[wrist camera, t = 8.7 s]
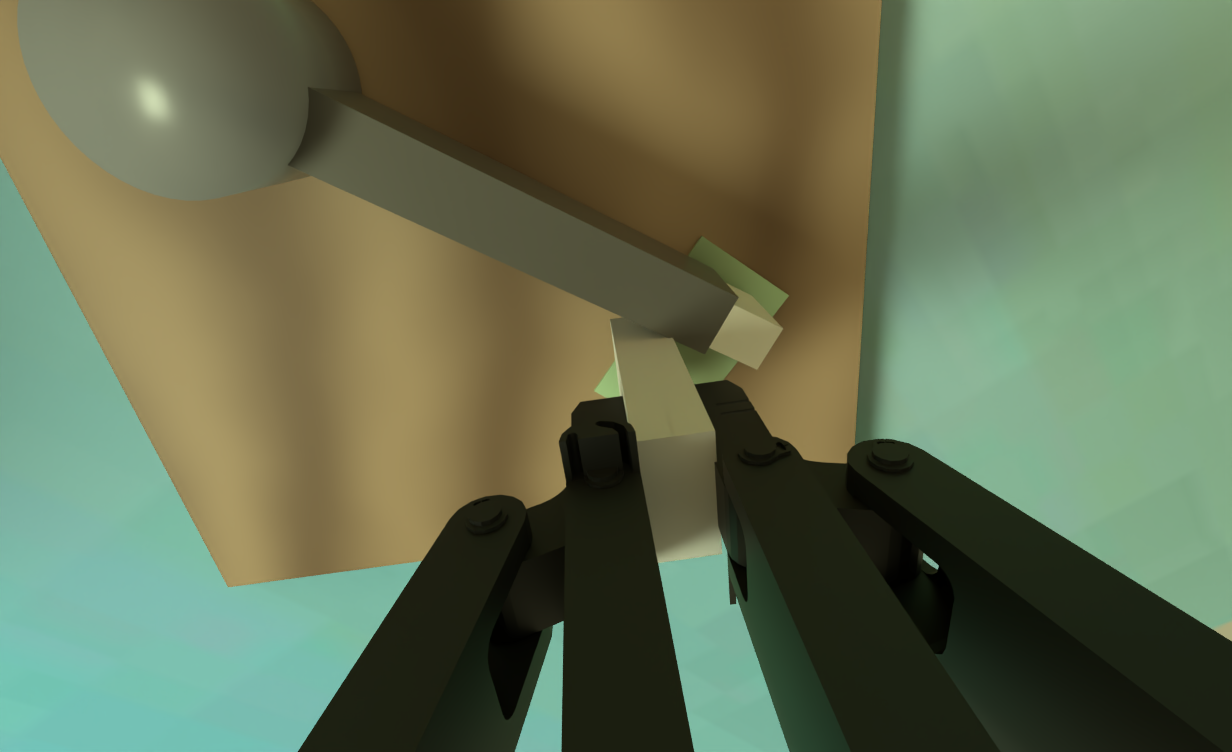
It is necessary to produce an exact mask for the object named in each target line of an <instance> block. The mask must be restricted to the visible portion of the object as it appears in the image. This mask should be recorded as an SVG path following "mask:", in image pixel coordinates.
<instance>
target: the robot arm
mask: <svg viewBox="0 0 1232 752" xmlns="http://www.w3.org/2000/svg"><path fill="white" fill-rule="evenodd" d="M610 324H611V331H612V339H613V347H614V354H615V362H616V369H617V377H618V385H619V392H620V396H618V397H611V398H604V399H596V400H589V401H582V402H580V403H579V404H578V405H577V407H576V408H575V409H574V410H573V412H572V413H571V427H569V428H568V429H567V430H566V431H565V432H564V433H562V435H561V437H560V440H559V447H560V452H561V458H562V463H563V468H564V474H565V479H566V487H565V488H564V489H563V490H562V491H561V492H560V493H559V494H558V495H556V496H555V497H553V498H552V499H550V500H548V501H546V502H543V503H541V504H539V505H536V506H533V507H530V508H527V509H526V508H525V506H524V504H523V502H522V501H520V500H519V499H517V498H515V497H513V496H507V495H493V496H485V497H482V498H480V499H476V500H474V501H471V502H469V503H468V504H466V505H465V506H463V507H461V508H460V509H458V510H457V511H456V513H455V514H454V515H453V516H452V517H451V518H450V519H449V521H448V522H447V524H446V525H445V527H444V528H443V530H442V531H441V533H440V534H439V536H438V537H437V539H436V541H435V542H434V544H433V545H432V547H431V548H430V550H429V551H428V553H427V554H426V556H425V557H424V559H423V560H422V562H421V564H420V565H419V567H418V568H417V570H416V571H415V573H414V574H413V576H412V577H411V579H410V580H409V582H408V583H407V585H406V587H405V588H404V590H403V591H402V593H401V594H400V596H399V597H398V599H397V600H396V602H395V603H394V605H393V607H392V608H391V610H390V611H389V613H388V614H387V616H386V617H385V619H384V620H383V622H382V623H381V625H380V626H379V628H378V630H377V631H376V633H375V634H374V636H373V637H372V639H371V640H370V642H369V643H368V645H367V646H366V648H365V649H364V651H363V653H362V654H361V656H360V657H359V659H358V660H357V662H356V663H355V665H354V666H353V668H352V669H351V671H350V672H349V674H348V676H347V677H346V679H345V680H344V682H343V683H342V685H341V686H340V688H339V689H338V691H337V692H336V694H335V695H334V697H333V699H332V700H331V702H330V703H329V705H328V706H327V708H326V709H325V711H324V712H323V714H322V715H321V717H320V718H319V720H318V722H317V723H316V725H315V726H314V728H313V729H312V731H311V732H310V734H309V735H308V737H307V738H306V740H305V741H304V743H303V745H302V746H301V748H300V749H299V751H298V752H515V749H516V746H517V743H518V740H519V737H520V733H521V730H522V727H523V724H524V721H525V718H526V715H527V712H528V709H529V706H530V702H531V699H532V696H533V693H534V690H535V687H536V684H537V681H538V678H539V674H540V671H541V668H542V665H543V662H544V659H545V656H546V653H547V650H548V647H549V643H550V640H551V637H552V628H553V625H555V624H557V623H559V622H562V621H564V638H563V698H562V752H694V749H693V743H692V738H691V733H690V728H689V722H688V717H687V712H686V707H685V702H684V696H683V691H682V686H681V681H680V675H679V670H678V665H677V660H676V655H675V649H674V644H673V639H672V634H671V628H670V623H669V618H668V613H667V608H666V602H665V597H664V592H663V587H662V581H661V576H660V571H659V566H658V563H661V562H668V561H675V560H682V559H689V558H696V557H703V556H710V555H717V554H722V544H721V535H722V538H723V541H724V544H725V547H726V549H727V554H728V574H729V594H730V605H731V604H736V596H737V599H738V602H739V605H740V608H741V611H742V614H743V617H744V620H745V623H746V626H747V629H748V632H749V634H750V637H751V640H752V643H753V646H754V649H755V652H756V655H757V658H758V661H759V664H760V667H761V670H762V672H763V675H764V678H765V681H766V684H767V687H768V690H769V693H770V696H771V699H772V702H773V705H774V708H775V710H776V713H777V716H778V719H779V722H780V725H781V728H782V731H783V734H784V737H785V740H786V743H787V746H788V748H789V751H790V752H1232V641H1230V640H1229V639H1227V638H1225V637H1224V636H1222V635H1220V634H1219V633H1217V632H1216V631H1214V630H1212V629H1211V628H1209V627H1208V626H1206V625H1204V624H1203V623H1201V622H1200V621H1198V620H1196V619H1195V618H1193V617H1191V616H1190V615H1188V614H1187V613H1185V612H1183V611H1182V610H1180V609H1179V608H1177V607H1175V606H1174V605H1172V604H1170V603H1169V602H1167V601H1166V600H1164V599H1162V598H1161V597H1159V596H1158V595H1156V594H1154V593H1153V592H1151V591H1150V590H1148V589H1146V588H1145V587H1143V586H1141V585H1140V584H1138V583H1137V582H1135V581H1133V580H1132V579H1130V578H1129V577H1127V576H1125V575H1124V574H1122V573H1121V572H1119V571H1117V570H1116V569H1114V568H1112V567H1111V566H1109V565H1108V564H1106V563H1104V562H1103V561H1101V560H1100V559H1098V558H1096V557H1095V556H1093V555H1091V554H1090V553H1088V552H1087V551H1085V550H1083V549H1082V548H1080V547H1079V546H1077V545H1075V544H1074V543H1072V542H1071V541H1069V540H1067V539H1066V538H1064V537H1062V536H1061V535H1059V534H1058V533H1056V532H1054V531H1053V530H1051V529H1050V528H1048V527H1046V526H1045V525H1043V524H1042V523H1040V522H1038V521H1037V520H1035V519H1033V518H1032V517H1030V516H1029V515H1027V514H1025V513H1024V512H1022V511H1021V510H1019V509H1017V508H1016V507H1014V506H1012V505H1011V504H1009V503H1008V502H1006V501H1004V500H1003V499H1001V498H1000V497H998V496H996V495H995V494H993V493H992V492H990V491H988V490H987V489H985V488H983V487H982V486H980V485H979V484H977V483H975V482H974V481H972V480H971V479H969V478H967V477H966V476H964V475H963V474H961V473H959V472H958V471H956V470H954V469H953V468H951V467H950V466H948V465H946V464H945V463H943V462H942V461H940V460H938V459H937V458H935V457H933V456H932V455H930V454H929V453H927V452H925V451H924V450H922V449H920V448H918V447H916V446H913V445H911V444H909V443H905V442H900V441H896V440H892V439H874V440H868V441H863V442H860V443H858V444H856V445H854V446H852V448H851V449H850V450H849V452H848V453H847V463H827V462H816V461H809V460H805V459H803V458H802V456H801V455H800V453H799V452H798V450H797V449H796V448H795V447H794V446H793V445H792V444H791V443H789V442H788V441H785V440H783V439H780V438H778V437H773V436H772V435H771V434H770V432H769V430H768V429H767V427H766V426H765V424H764V422H763V421H762V419H761V418H760V416H759V414H758V413H757V411H756V410H755V408H754V406H753V405H752V403H751V402H750V401H749V398H748V397H747V395H746V394H745V392H744V390H743V389H742V388H741V387H739V386H737V385H736V384H734V383H732V382H730V381H729V380H722V381H715V382H707V383H700V384H694V383H693V381H692V379H691V377H690V374H689V372H688V370H687V368H686V366H685V363H684V361H683V359H682V357H681V355H680V352H679V350H678V348H677V346H676V344H675V341H674V339H673V338H667V337H665V336H663V335H661V334H658V333H656V332H654V331H652V330H650V329H647V328H645V327H643V326H641V325H639V324H636V323H634V322H632V321H630V320H628V319H625V318H623V317H622V318H615V319H610ZM923 553H925V554H926V555H927V556H928V557H930V558H931V559H932V560H933V561H934V562H936V563H937V564H938V565H939V568H938V570H937V569H935V568H934V567H932V566H931V565H929V564H928V563H927V562H926V561H925V560H923Z"/></svg>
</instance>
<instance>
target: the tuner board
mask: <svg viewBox="0 0 1232 752" xmlns="http://www.w3.org/2000/svg"><path fill="white" fill-rule="evenodd" d="M18 1H19V0H0V158H1V160H2V161H3V163H4V165H5V167H6V169H7V171H8V173H9V175H10V177H11V178H12V180H13V182H14V184H15V186H16V188H17V190H18V192H19V194H20V195H21V197H22V199H23V201H24V203H25V205H26V207H27V209H28V210H29V212H30V214H31V216H32V218H33V220H34V222H35V224H36V226H37V227H38V229H39V231H40V233H41V235H42V237H43V239H44V241H45V243H46V244H47V246H48V248H49V250H50V252H51V254H52V256H53V258H54V260H55V261H56V263H57V265H58V267H59V269H60V271H61V273H62V275H63V277H64V278H65V280H66V282H67V284H68V286H69V288H70V290H71V292H72V294H73V295H74V297H75V299H76V301H77V303H78V305H79V307H80V309H81V310H82V312H83V314H84V316H85V318H86V320H87V322H88V324H89V326H90V327H91V329H92V331H93V333H94V335H95V337H96V339H97V341H98V343H99V344H100V346H101V348H102V350H103V352H104V354H105V356H106V358H107V360H108V361H109V363H110V365H111V367H112V369H113V371H114V373H115V375H116V377H117V378H118V380H119V382H120V384H121V386H122V388H123V390H124V392H125V394H126V395H127V397H128V399H129V401H130V403H131V405H132V407H133V409H134V410H135V412H136V414H137V416H138V418H139V420H140V422H141V424H142V426H143V427H144V429H145V431H146V433H147V435H148V437H149V439H150V441H151V443H152V444H153V446H154V448H155V450H156V452H157V454H158V456H159V458H160V460H161V461H162V463H163V465H164V467H165V469H166V471H167V473H168V475H169V477H170V478H171V480H172V482H173V484H174V486H175V488H176V490H177V492H178V494H179V495H180V497H181V499H182V501H183V503H184V505H185V507H186V509H187V511H188V512H189V514H190V516H191V518H192V520H193V522H194V524H195V526H196V527H197V529H198V531H199V533H200V535H201V537H202V539H203V541H204V543H205V544H206V546H207V548H208V550H209V552H210V554H211V556H212V558H213V560H214V561H215V563H216V565H217V567H218V569H219V571H220V573H221V575H222V577H223V578H224V580H225V582H226V584H227V586H228V587H233V586H240V585H248V584H255V583H262V582H270V581H277V580H284V579H292V578H299V577H306V576H314V575H321V574H329V573H336V572H343V571H351V570H358V569H365V568H373V567H380V566H387V565H395V564H402V563H410V562H417V561H422V560H423V559H424V557H425V556H426V554H427V553H428V551H429V550H430V548H431V547H432V545H433V544H434V542H435V541H436V539H437V537H438V536H439V534H440V533H441V531H442V530H443V528H444V527H445V525H446V524H447V522H448V521H449V519H450V518H451V517H452V516H453V515H454V514H455V513H456V511H457V510H458V509H460V508H461V507H463V506H465V505H466V504H468V503H469V502H471V501H474V500H476V499H480V498H482V497H485V496H493V495H507V496H513V497H515V498H517V499H519V500H520V501H522V502H523V504H524V506H525V508H526V509H527V508H530V507H533V506H536V505H539V504H541V503H543V502H546V501H548V500H550V499H552V498H553V497H555V496H556V495H558V494H559V493H560V492H561V491H562V490H563V489H564V488H565V487H566V479H565V474H564V468H563V463H562V458H561V452H560V447H559V440H560V437H561V435H562V433H564V432H565V431H566V430H567V429H568V428H569V427H571V413H572V412H573V410H574V409H575V408H576V407H577V405H578V404H579V403H580V402H582V401H589V400H596V399H604V398H611V397H618V396H620V392H619V385H618V377H617V369H616V362H615V354H614V347H613V339H612V331H611V324H610V319H615V318H622V317H621V316H619V315H617V314H614V313H612V312H610V311H608V310H606V309H603V308H601V307H599V306H597V305H595V304H592V303H590V302H588V301H586V300H584V299H581V298H579V297H577V296H575V295H573V294H570V293H568V292H566V291H564V290H561V289H559V288H557V287H555V286H553V285H550V284H548V283H546V282H544V281H542V280H539V279H537V278H535V277H533V276H531V275H528V274H526V273H524V272H522V271H520V270H517V269H515V268H513V267H511V266H509V265H506V264H504V263H502V262H500V261H498V260H495V259H493V258H491V257H489V256H487V255H484V254H482V253H480V252H478V251H476V250H473V249H471V248H469V247H467V246H465V245H462V244H460V243H458V242H456V241H454V240H451V239H449V238H447V237H445V236H443V235H440V234H438V233H436V232H434V231H432V230H429V229H427V228H425V227H423V226H421V225H418V224H416V223H414V222H412V221H410V220H407V219H405V218H403V217H401V216H399V215H396V214H394V213H392V212H390V211H388V210H385V209H383V208H381V207H379V206H377V205H374V204H372V203H370V202H368V201H366V200H363V199H361V198H359V197H357V196H355V195H352V194H350V193H348V192H346V191H344V190H341V189H339V188H337V187H335V186H333V185H330V184H328V183H326V182H324V181H322V180H319V179H317V178H315V177H313V176H309V177H306V178H302V179H297V180H293V181H289V182H285V183H280V184H276V185H272V186H268V187H263V188H259V189H255V190H251V191H246V192H242V193H238V194H234V195H229V196H225V197H221V198H216V199H209V200H202V201H186V200H178V199H170V198H166V197H162V196H158V195H154V194H151V193H148V192H145V191H143V190H140V189H137V188H135V187H133V186H131V185H129V184H127V183H125V182H123V181H121V180H119V179H118V178H116V177H114V176H113V175H111V174H110V173H108V172H106V171H105V170H104V169H102V168H101V167H100V166H98V165H97V164H96V163H94V162H93V161H91V160H90V159H89V158H88V157H87V156H86V155H85V154H84V153H82V152H81V151H80V150H79V149H78V148H77V147H76V146H75V145H74V144H73V143H72V142H71V141H70V140H69V138H68V137H67V136H66V135H65V134H64V133H63V132H62V131H61V129H60V128H59V127H58V125H57V124H56V123H55V121H54V120H53V119H52V118H51V116H50V115H49V113H48V111H47V110H46V108H45V107H44V105H43V103H42V102H41V100H40V98H39V96H38V94H37V92H36V90H35V88H34V86H33V84H32V82H31V80H30V77H29V74H28V72H27V69H26V66H25V64H24V60H23V56H22V52H21V48H20V44H19V36H18V28H17V7H18ZM311 1H312V2H313V3H315V4H316V5H317V6H318V7H319V8H320V9H321V10H322V11H323V12H324V13H325V14H326V15H327V16H328V17H329V19H330V20H331V21H332V22H333V23H334V25H335V26H336V27H337V29H338V30H339V32H340V33H341V35H342V36H343V38H344V40H345V41H346V43H347V45H348V47H349V49H350V51H351V53H352V56H353V58H354V61H355V63H356V67H357V70H358V74H359V77H360V84H361V90H362V94H363V95H365V96H367V97H369V98H371V99H373V100H375V101H377V102H379V103H381V104H383V105H385V106H387V107H389V108H391V109H393V110H395V111H397V112H399V113H401V114H403V115H405V116H407V117H409V118H411V119H413V120H415V121H417V122H419V123H421V124H423V125H425V126H427V127H429V128H431V129H433V130H435V131H437V132H439V133H441V134H443V135H445V136H447V137H449V138H451V139H453V140H455V141H457V142H459V143H461V144H463V145H465V146H467V147H469V148H471V149H473V150H475V151H477V152H479V153H481V154H483V155H485V156H487V157H489V158H492V159H494V160H496V161H498V162H500V163H502V164H504V165H506V166H508V167H510V168H512V169H514V170H516V171H518V172H520V173H522V174H524V175H526V176H528V177H530V178H532V179H534V180H536V181H538V182H540V183H542V184H544V185H546V186H548V187H550V188H552V189H554V190H556V191H558V192H560V193H562V194H564V195H566V196H568V197H570V198H572V199H574V200H576V201H578V202H580V203H582V204H584V205H586V206H588V207H590V208H592V209H594V210H596V211H598V212H600V213H602V214H604V215H606V216H608V217H610V218H612V219H614V220H616V221H618V222H621V223H623V224H625V225H627V226H629V227H631V228H633V229H635V230H637V231H639V232H641V233H643V234H645V235H647V236H649V237H651V238H653V239H655V240H657V241H659V242H661V243H663V244H665V245H667V246H669V247H671V248H673V249H675V250H677V251H679V252H681V253H683V254H685V255H687V256H689V257H691V258H693V259H695V260H697V261H699V262H701V263H703V264H705V265H707V266H709V267H711V268H713V269H714V270H715V271H716V272H717V273H718V274H719V276H720V277H721V278H722V279H723V280H724V281H725V282H726V283H727V284H729V285H731V286H733V287H735V288H737V289H739V290H741V291H743V292H745V293H748V294H750V295H752V296H753V297H754V298H755V300H756V301H757V302H758V303H759V304H760V305H761V306H762V307H763V308H764V309H765V310H766V311H767V312H768V313H769V314H770V315H771V316H772V317H773V318H774V319H775V320H776V321H777V323H778V324H779V325H780V326H781V327H782V328H783V330H782V331H781V333H780V335H779V336H778V338H777V339H776V341H775V342H774V344H773V346H772V347H771V349H770V350H769V352H768V354H767V355H766V357H765V358H764V360H763V361H762V363H761V365H760V366H759V368H758V369H757V370H756V369H754V368H752V367H750V366H748V365H746V364H743V363H741V362H739V361H737V360H735V359H732V358H730V357H728V356H726V355H724V354H722V353H719V352H717V351H715V350H713V349H711V348H709V349H708V350H707V352H706V354H702V353H700V352H698V351H696V350H694V349H691V348H689V347H687V346H685V345H683V344H680V343H678V342H676V341H675V344H676V346H677V348H678V350H679V352H680V355H681V357H682V359H683V361H684V363H685V366H686V368H687V370H688V372H689V374H690V377H691V379H692V381H693V383H694V384H700V383H707V382H715V381H722V380H729V381H730V382H732V383H734V384H736V385H737V386H739V387H741V388H742V389H743V390H744V392H745V394H746V395H747V397H748V398H749V401H750V402H751V403H752V405H753V406H754V408H755V410H756V411H757V413H758V414H759V416H760V418H761V419H762V421H763V422H764V424H765V426H766V427H767V429H768V430H769V432H770V434H771V435H772V436H773V437H778V438H780V439H783V440H785V441H788V442H789V443H791V444H792V445H793V446H794V447H795V448H796V449H797V450H798V452H799V453H800V455H801V456H802V458H803V459H805V460H809V461H816V462H827V463H847V453H848V452H849V450H850V449H851V448H852V446H854V445H855V431H856V415H857V398H858V382H859V365H860V349H861V333H862V316H863V300H864V283H865V267H866V251H867V234H868V218H869V201H870V185H871V169H872V152H873V136H874V119H875V103H876V87H877V70H878V54H879V37H880V21H881V5H882V0H311Z"/></svg>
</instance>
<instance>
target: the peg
mask: <svg viewBox="0 0 1232 752" xmlns="http://www.w3.org/2000/svg"><path fill="white" fill-rule="evenodd" d="M17 28H18V36H19V44H20V48H21V52H22V56H23V60H24V64H25V66H26V69H27V72H28V74H29V77H30V80H31V82H32V84H33V86H34V88H35V90H36V92H37V94H38V96H39V98H40V100H41V102H42V103H43V105H44V107H45V108H46V110H47V111H48V113H49V115H50V116H51V118H52V119H53V120H54V121H55V123H56V124H57V125H58V127H59V128H60V129H61V131H62V132H63V133H64V134H65V135H66V136H67V137H68V138H69V140H70V141H71V142H72V143H73V144H74V145H75V146H76V147H77V148H78V149H79V150H80V151H81V152H82V153H84V154H85V155H86V156H87V157H88V158H89V159H90V160H91V161H93V162H94V163H96V164H97V165H98V166H100V167H101V168H102V169H104V170H105V171H106V172H108V173H110V174H111V175H113V176H114V177H116V178H118V179H119V180H121V181H123V182H125V183H127V184H129V185H131V186H133V187H135V188H137V189H140V190H143V191H145V192H148V193H151V194H154V195H158V196H162V197H166V198H170V199H178V200H186V201H202V200H209V199H216V198H221V197H225V196H229V195H234V194H238V193H242V192H246V191H251V190H255V189H259V188H263V187H268V186H272V185H276V184H280V183H285V182H289V181H293V180H297V179H302V178H306V177H309V176H313V177H315V178H317V179H319V180H322V181H324V182H326V183H328V184H330V185H333V186H335V187H337V188H339V189H341V190H344V191H346V192H348V193H350V194H352V195H355V196H357V197H359V198H361V199H363V200H366V201H368V202H370V203H372V204H374V205H377V206H379V207H381V208H383V209H385V210H388V211H390V212H392V213H394V214H396V215H399V216H401V217H403V218H405V219H407V220H410V221H412V222H414V223H416V224H418V225H421V226H423V227H425V228H427V229H429V230H432V231H434V232H436V233H438V234H440V235H443V236H445V237H447V238H449V239H451V240H454V241H456V242H458V243H460V244H462V245H465V246H467V247H469V248H471V249H473V250H476V251H478V252H480V253H482V254H484V255H487V256H489V257H491V258H493V259H495V260H498V261H500V262H502V263H504V264H506V265H509V266H511V267H513V268H515V269H517V270H520V271H522V272H524V273H526V274H528V275H531V276H533V277H535V278H537V279H539V280H542V281H544V282H546V283H548V284H550V285H553V286H555V287H557V288H559V289H561V290H564V291H566V292H568V293H570V294H573V295H575V296H577V297H579V298H581V299H584V300H586V301H588V302H590V303H592V304H595V305H597V306H599V307H601V308H603V309H606V310H608V311H610V312H612V313H614V314H617V315H619V316H621V317H623V318H625V319H628V320H630V321H632V322H634V323H636V324H639V325H641V326H643V327H645V328H647V329H650V330H652V331H654V332H656V333H658V334H661V335H663V336H665V337H667V338H673V339H674V341H676V342H678V343H680V344H683V345H685V346H687V347H689V348H691V349H694V350H696V351H698V352H700V353H702V354H706V352H707V350H708V349H709V348H711V349H713V350H715V351H717V352H719V353H722V354H724V355H726V356H728V357H730V358H732V359H735V360H737V361H739V362H741V363H743V364H746V365H748V366H750V367H752V368H754V369H756V370H757V369H758V368H759V366H760V365H761V363H762V361H763V360H764V358H765V357H766V355H767V354H768V352H769V350H770V349H771V347H772V346H773V344H774V342H775V341H776V339H777V338H778V336H779V335H780V333H781V331H782V330H783V328H782V327H781V326H780V325H779V324H778V323H777V321H776V320H775V319H774V318H773V317H772V316H771V315H770V314H769V313H768V312H767V311H766V310H765V309H764V308H763V307H762V306H761V305H760V304H759V303H758V302H757V301H756V300H755V298H754V297H753V296H752V295H750V294H748V293H745V292H743V291H741V290H739V289H737V288H735V287H733V286H731V285H729V284H727V283H726V282H725V281H724V280H723V279H722V278H721V277H720V276H719V274H718V273H717V272H716V271H715V270H714V269H713V268H711V267H709V266H707V265H705V264H703V263H701V262H699V261H697V260H695V259H693V258H691V257H689V256H687V255H685V254H683V253H681V252H679V251H677V250H675V249H673V248H671V247H669V246H667V245H665V244H663V243H661V242H659V241H657V240H655V239H653V238H651V237H649V236H647V235H645V234H643V233H641V232H639V231H637V230H635V229H633V228H631V227H629V226H627V225H625V224H623V223H621V222H618V221H616V220H614V219H612V218H610V217H608V216H606V215H604V214H602V213H600V212H598V211H596V210H594V209H592V208H590V207H588V206H586V205H584V204H582V203H580V202H578V201H576V200H574V199H572V198H570V197H568V196H566V195H564V194H562V193H560V192H558V191H556V190H554V189H552V188H550V187H548V186H546V185H544V184H542V183H540V182H538V181H536V180H534V179H532V178H530V177H528V176H526V175H524V174H522V173H520V172H518V171H516V170H514V169H512V168H510V167H508V166H506V165H504V164H502V163H500V162H498V161H496V160H494V159H492V158H489V157H487V156H485V155H483V154H481V153H479V152H477V151H475V150H473V149H471V148H469V147H467V146H465V145H463V144H461V143H459V142H457V141H455V140H453V139H451V138H449V137H447V136H445V135H443V134H441V133H439V132H437V131H435V130H433V129H431V128H429V127H427V126H425V125H423V124H421V123H419V122H417V121H415V120H413V119H411V118H409V117H407V116H405V115H403V114H401V113H399V112H397V111H395V110H393V109H391V108H389V107H387V106H385V105H383V104H381V103H379V102H377V101H375V100H373V99H371V98H369V97H367V96H365V95H363V94H362V90H361V84H360V77H359V74H358V70H357V67H356V63H355V61H354V58H353V56H352V53H351V51H350V49H349V47H348V45H347V43H346V41H345V40H344V38H343V36H342V35H341V33H340V32H339V30H338V29H337V27H336V26H335V25H334V23H333V22H332V21H331V20H330V19H329V17H328V16H327V15H326V14H325V13H324V12H323V11H322V10H321V9H320V8H319V7H318V6H317V5H316V4H315V3H313V2H312V1H311V0H19V1H18V7H17Z"/></svg>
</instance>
